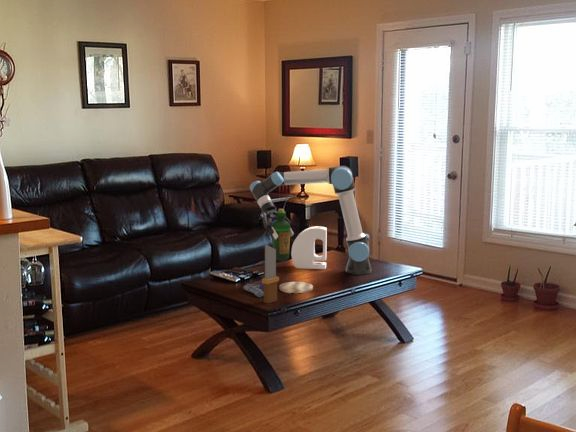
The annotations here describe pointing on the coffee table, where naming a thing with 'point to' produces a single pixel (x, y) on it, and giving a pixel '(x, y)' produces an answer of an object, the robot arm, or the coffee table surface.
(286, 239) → the bottle
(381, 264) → the coffee table surface
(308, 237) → the bracket
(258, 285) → the toy gun
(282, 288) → the serving board
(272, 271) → the knife
